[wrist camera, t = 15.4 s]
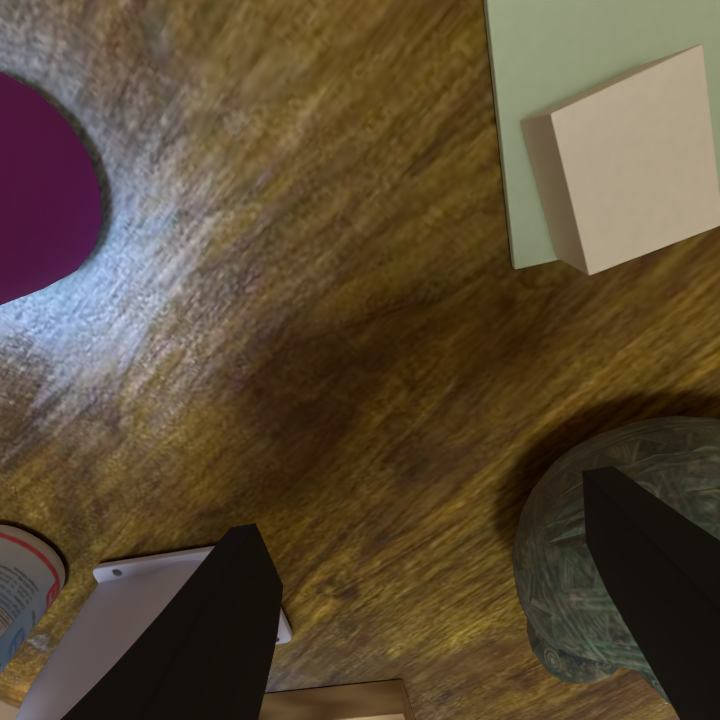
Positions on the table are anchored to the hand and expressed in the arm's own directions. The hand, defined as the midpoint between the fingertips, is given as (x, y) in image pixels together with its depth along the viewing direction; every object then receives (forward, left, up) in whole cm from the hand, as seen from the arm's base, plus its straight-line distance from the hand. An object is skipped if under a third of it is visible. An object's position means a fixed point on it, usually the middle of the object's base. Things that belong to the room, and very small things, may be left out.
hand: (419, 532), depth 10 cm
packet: (+8, +6, -10) cm, 14 cm away
